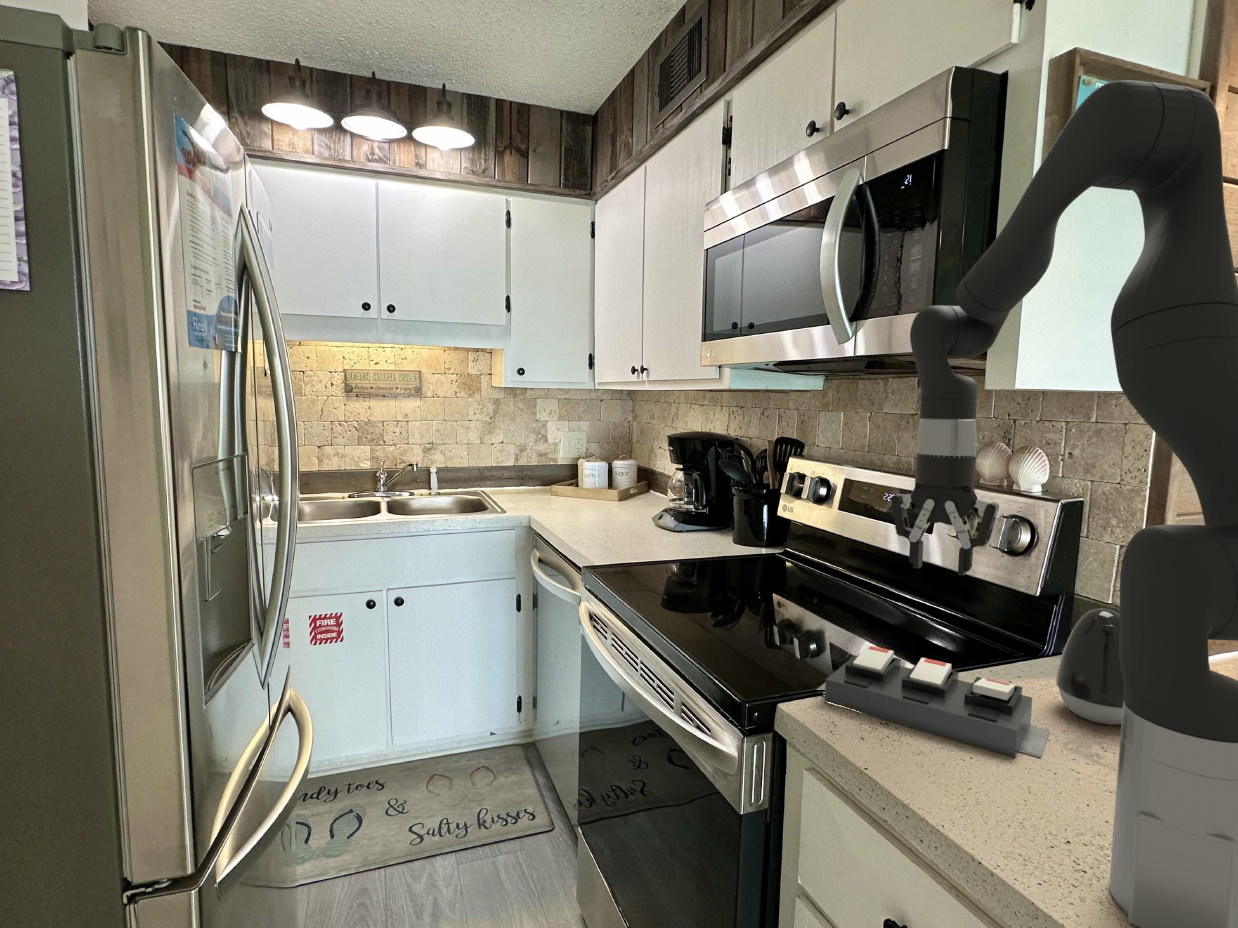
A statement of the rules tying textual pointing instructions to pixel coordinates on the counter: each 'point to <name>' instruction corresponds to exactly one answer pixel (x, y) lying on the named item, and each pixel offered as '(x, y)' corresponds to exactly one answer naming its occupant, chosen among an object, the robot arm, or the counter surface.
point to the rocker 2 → (994, 688)
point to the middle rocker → (931, 672)
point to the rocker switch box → (939, 707)
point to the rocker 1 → (874, 658)
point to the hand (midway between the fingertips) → (939, 569)
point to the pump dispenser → (1093, 668)
